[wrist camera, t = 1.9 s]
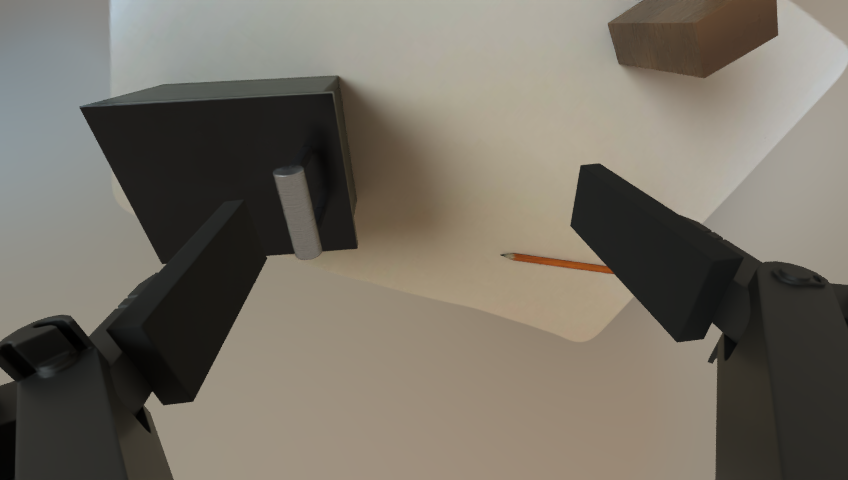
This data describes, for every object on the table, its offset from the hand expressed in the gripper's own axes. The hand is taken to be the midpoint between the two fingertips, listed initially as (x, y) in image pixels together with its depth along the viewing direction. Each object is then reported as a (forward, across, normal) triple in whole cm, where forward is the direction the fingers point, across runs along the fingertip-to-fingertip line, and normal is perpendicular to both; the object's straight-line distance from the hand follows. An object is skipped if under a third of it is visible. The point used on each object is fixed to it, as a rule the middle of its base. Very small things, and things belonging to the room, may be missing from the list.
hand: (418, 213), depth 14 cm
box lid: (+15, -13, -3) cm, 20 cm away
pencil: (+24, +20, -22) cm, 38 cm away
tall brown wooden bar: (+24, +23, +5) cm, 34 cm away
